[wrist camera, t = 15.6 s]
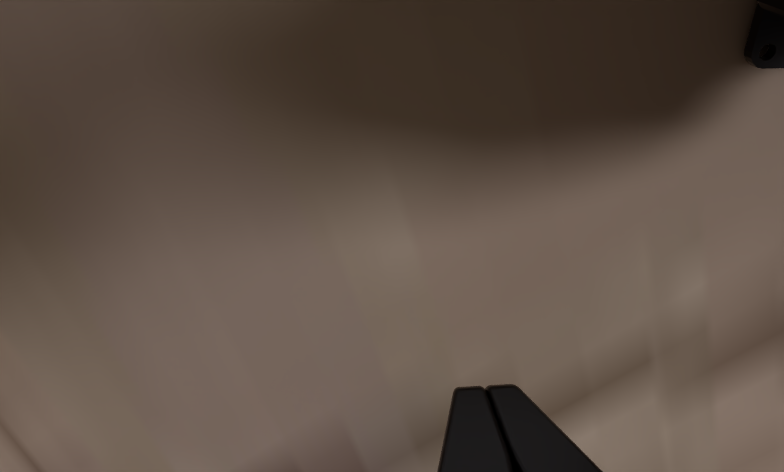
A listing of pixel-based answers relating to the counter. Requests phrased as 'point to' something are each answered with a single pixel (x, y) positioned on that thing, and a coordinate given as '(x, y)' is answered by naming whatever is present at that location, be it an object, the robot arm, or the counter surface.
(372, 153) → the counter surface
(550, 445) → the robot arm
